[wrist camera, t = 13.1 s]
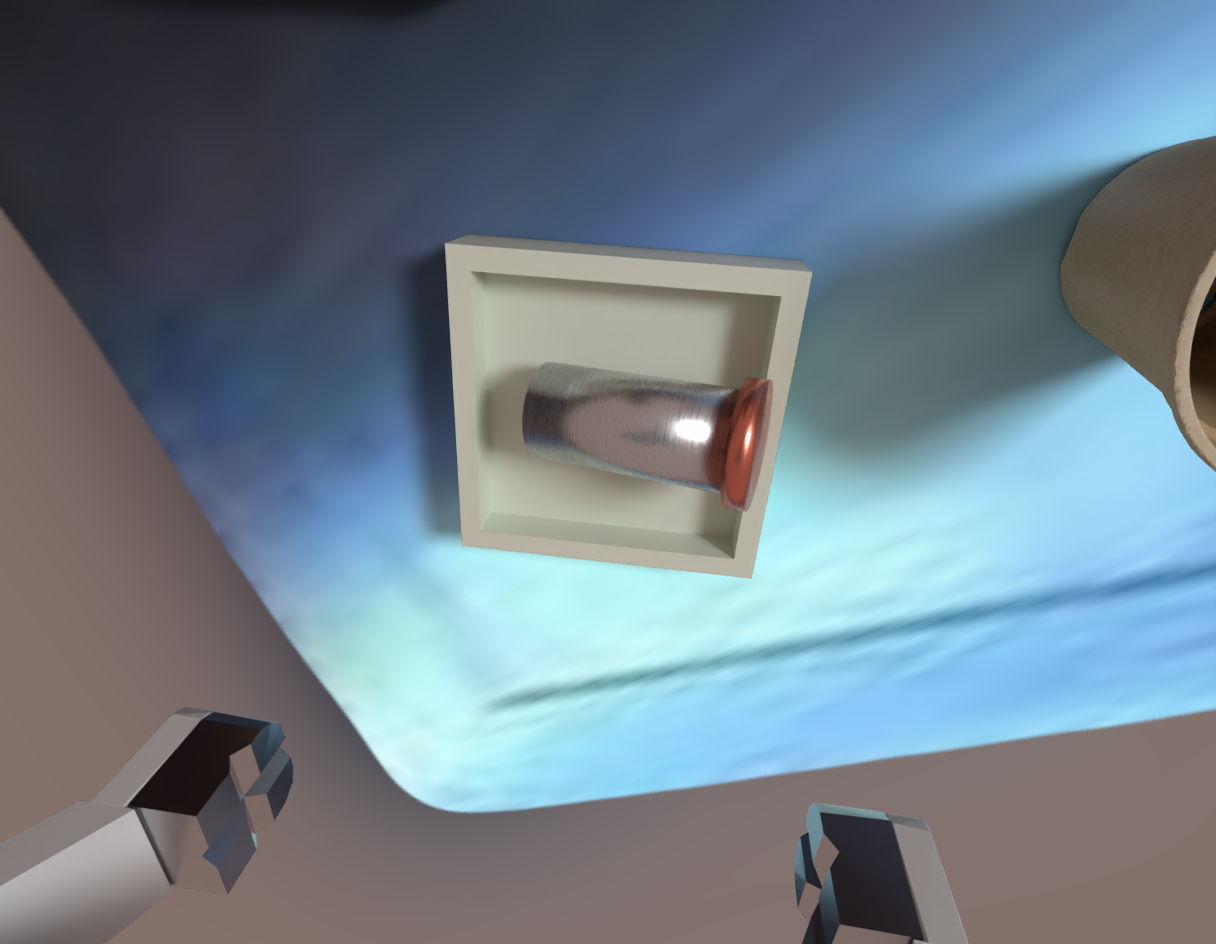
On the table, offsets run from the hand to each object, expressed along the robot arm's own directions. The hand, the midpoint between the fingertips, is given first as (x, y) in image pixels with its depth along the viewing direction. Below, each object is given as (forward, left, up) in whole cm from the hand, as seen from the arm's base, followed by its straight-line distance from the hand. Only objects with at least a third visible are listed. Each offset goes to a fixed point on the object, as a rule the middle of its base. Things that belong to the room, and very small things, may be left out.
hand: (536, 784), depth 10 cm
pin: (+3, 0, -14) cm, 15 cm away
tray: (0, 0, -17) cm, 17 cm away
